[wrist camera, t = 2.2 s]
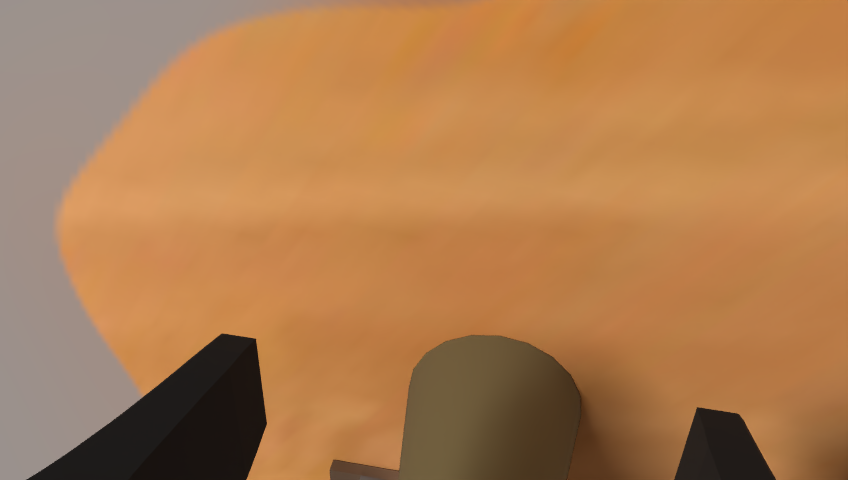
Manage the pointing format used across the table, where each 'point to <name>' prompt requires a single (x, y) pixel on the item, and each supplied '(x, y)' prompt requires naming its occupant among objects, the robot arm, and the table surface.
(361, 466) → the shaker socket
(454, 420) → the olive rounded tapered post
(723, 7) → the table surface
